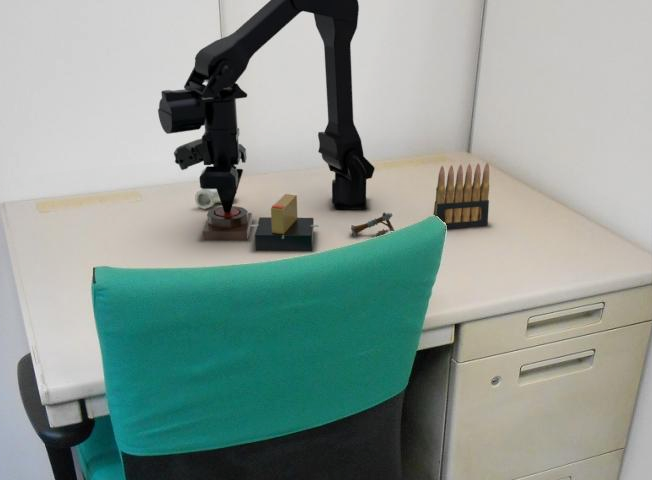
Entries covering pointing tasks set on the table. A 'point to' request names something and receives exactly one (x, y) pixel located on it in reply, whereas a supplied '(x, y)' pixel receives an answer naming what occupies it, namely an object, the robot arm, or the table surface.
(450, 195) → the ammunition clip
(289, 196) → the olive rectangular block
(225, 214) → the button
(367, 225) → the wooden post with brackets
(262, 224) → the dark rectangular block base
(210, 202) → the pipe fitting
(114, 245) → the table surface
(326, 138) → the robot arm
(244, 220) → the button housing
